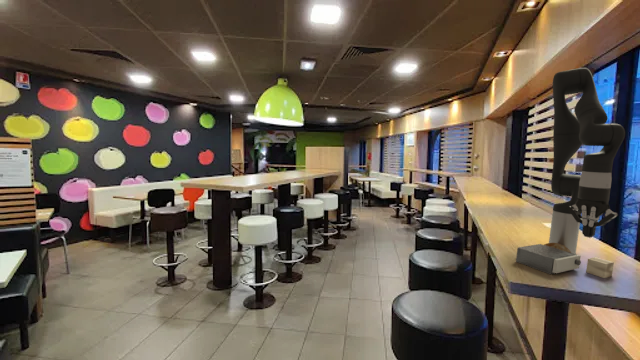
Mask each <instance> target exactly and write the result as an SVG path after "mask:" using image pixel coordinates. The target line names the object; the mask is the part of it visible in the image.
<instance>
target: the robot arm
mask: <svg viewBox="0 0 640 360" xmlns="http://www.w3.org/2000/svg"><path fill="white" fill-rule="evenodd" d="M580 93H582V95H581V97H580V98H579V99H578V101H577V103H576V104H575V106H574V113H573V112H572V111H571V109H570V108H569V106H568V104H567V101H566V96H567V95H568V96H569V95H575V94H580ZM552 97H553V98H552V99H553V112H554V114H553V130H552V131H553V132H552V133H553V136H552V137H553V141H552V142H553V163H552V171H551V183H550V187H551V189H550V190H551V192H552V193H553V194H554V195H557V196H564V197H570V200H568V201H564V202H559V203H558V202H557V203H554V204H553V207H552V214H551V223H550V224H551V225H550V231H549V237H548V243H558V244H561V245H564V246H565V247H567V248H568V249H569V250H570V251H571V253H573V254H576V253H577V248H578V247H577V246H578V238H579V233H580V226H581V224H582V232H581V233H582V235H583V237H586V238H590V239H591V238H593V237H595V235H596V231H597V229H596V228H597V227H603V226H605V225H606V224H607V223H609V222H611V221H612V220H614V219H615V218H617V217H618V216H619V214H618V212H614V211H612V210H611V207H610V204H609V201H610V195H611V187H612V179H613V177H612V173H613V166H614V165H613V164H614V159H615V158H616V155H617V153H618V151H619V150H620V147H621V145H622V144H623V141H624V140H625V137H626V130H625V128H624V126H622V125H621V124H618V123H607V122H608V119H609V118H608V114H607V113H606V110H605V109H604V107H603V106H602V104H601V102H600V99H599V96H598V92H597V87H596V84H595V81H594V77H593V74H592V72H591V70H590V69H589V68H587V67H579V68H573V69H569V70H567V69H566V70H563V71H558V72H556V73H554V76H553V78H552ZM583 145H585V146H587V147H602V148H601V149H600V150H599V151H598V152H591V153H587V154H585V155H584V156H583V160H582V168H581V174H571V173H569V174H568V173H565V171H566V165H567V164H568V163H569V161H570V160H571V158H572V157H573V156H574V155H575V154H576V153H577V152H578V151H579V149H580V148H581V147H582V146H583ZM603 215H604V216H605V217H603V218H602V219H600V217H601V216H603ZM576 255H577V254H576Z"/></svg>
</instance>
